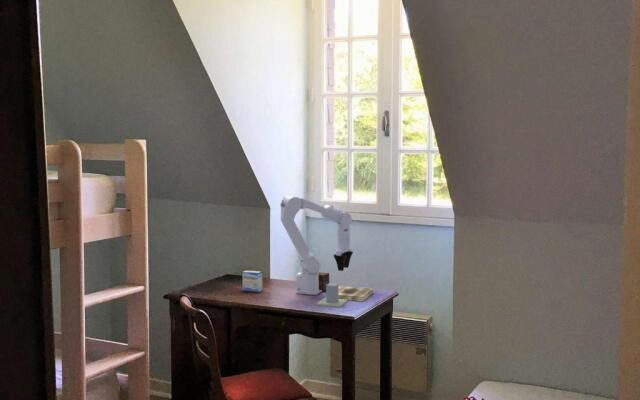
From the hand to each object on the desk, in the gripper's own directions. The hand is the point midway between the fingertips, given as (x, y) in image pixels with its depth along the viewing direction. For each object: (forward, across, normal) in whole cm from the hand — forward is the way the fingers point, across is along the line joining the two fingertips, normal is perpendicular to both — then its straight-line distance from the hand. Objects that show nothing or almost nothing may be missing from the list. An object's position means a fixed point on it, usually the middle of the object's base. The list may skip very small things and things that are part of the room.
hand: (343, 269), depth 316 cm
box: (+10, -2, +10) cm, 14 cm away
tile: (+9, -25, -3) cm, 27 cm away
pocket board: (+9, -10, -6) cm, 15 cm away
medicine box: (+10, -14, +38) cm, 42 cm away
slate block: (+9, -25, -3) cm, 27 cm away
